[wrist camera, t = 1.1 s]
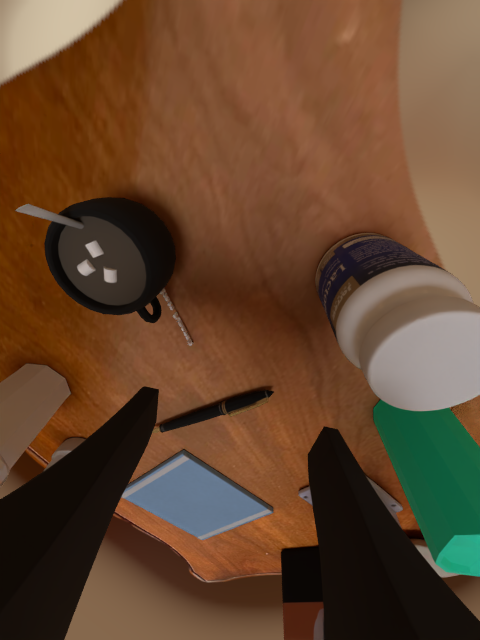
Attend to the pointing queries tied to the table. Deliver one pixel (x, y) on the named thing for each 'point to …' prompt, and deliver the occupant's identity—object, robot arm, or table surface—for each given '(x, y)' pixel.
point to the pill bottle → (402, 322)
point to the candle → (437, 480)
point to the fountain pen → (219, 410)
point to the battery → (301, 592)
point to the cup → (27, 409)
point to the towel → (195, 497)
